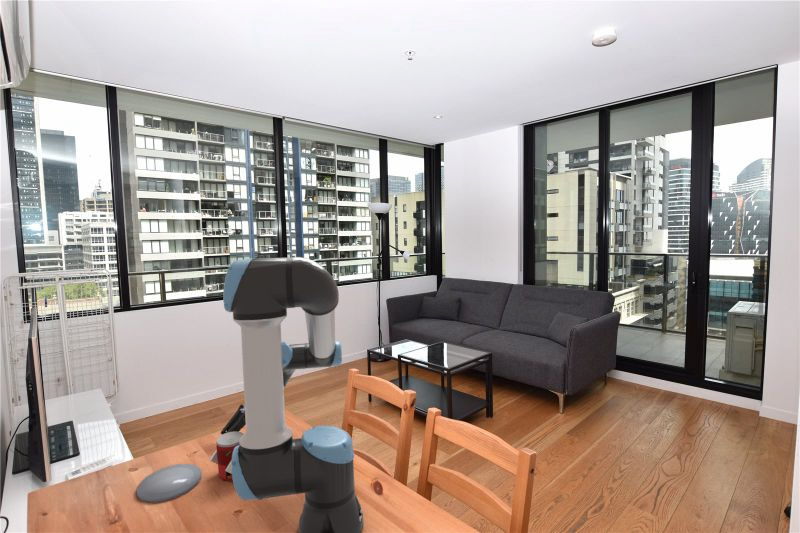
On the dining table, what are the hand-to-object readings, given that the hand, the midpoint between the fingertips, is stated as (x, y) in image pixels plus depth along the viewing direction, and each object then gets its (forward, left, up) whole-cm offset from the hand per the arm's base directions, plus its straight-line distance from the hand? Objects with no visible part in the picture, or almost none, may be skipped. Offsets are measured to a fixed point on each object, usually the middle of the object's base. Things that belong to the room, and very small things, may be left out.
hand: (221, 467), depth 119 cm
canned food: (0, -3, -4) cm, 5 cm away
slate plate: (+9, +11, -4) cm, 15 cm away
